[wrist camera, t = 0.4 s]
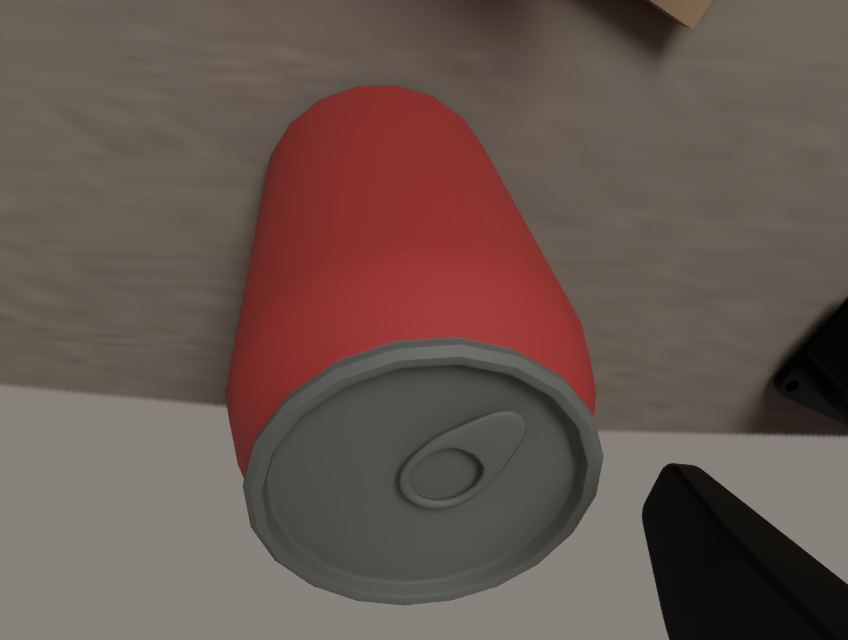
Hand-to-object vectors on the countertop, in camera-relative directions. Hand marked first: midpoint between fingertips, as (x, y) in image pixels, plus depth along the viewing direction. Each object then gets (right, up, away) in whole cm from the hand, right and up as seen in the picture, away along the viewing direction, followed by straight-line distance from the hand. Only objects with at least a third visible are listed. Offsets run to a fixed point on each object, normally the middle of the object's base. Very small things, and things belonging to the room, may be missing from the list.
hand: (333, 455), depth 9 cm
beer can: (0, +6, +12) cm, 13 cm away
